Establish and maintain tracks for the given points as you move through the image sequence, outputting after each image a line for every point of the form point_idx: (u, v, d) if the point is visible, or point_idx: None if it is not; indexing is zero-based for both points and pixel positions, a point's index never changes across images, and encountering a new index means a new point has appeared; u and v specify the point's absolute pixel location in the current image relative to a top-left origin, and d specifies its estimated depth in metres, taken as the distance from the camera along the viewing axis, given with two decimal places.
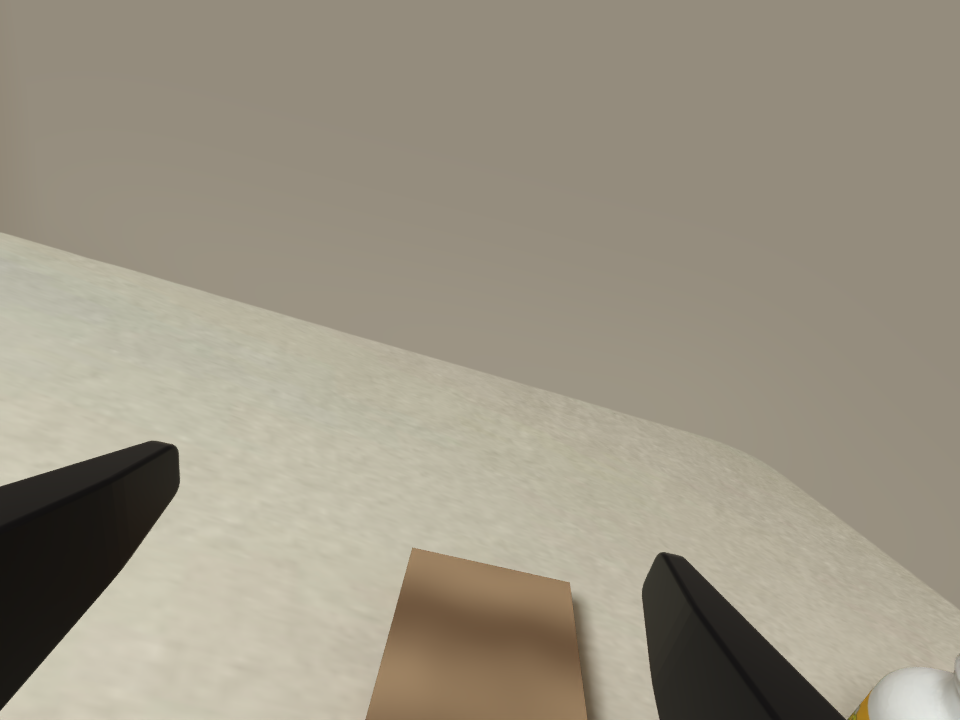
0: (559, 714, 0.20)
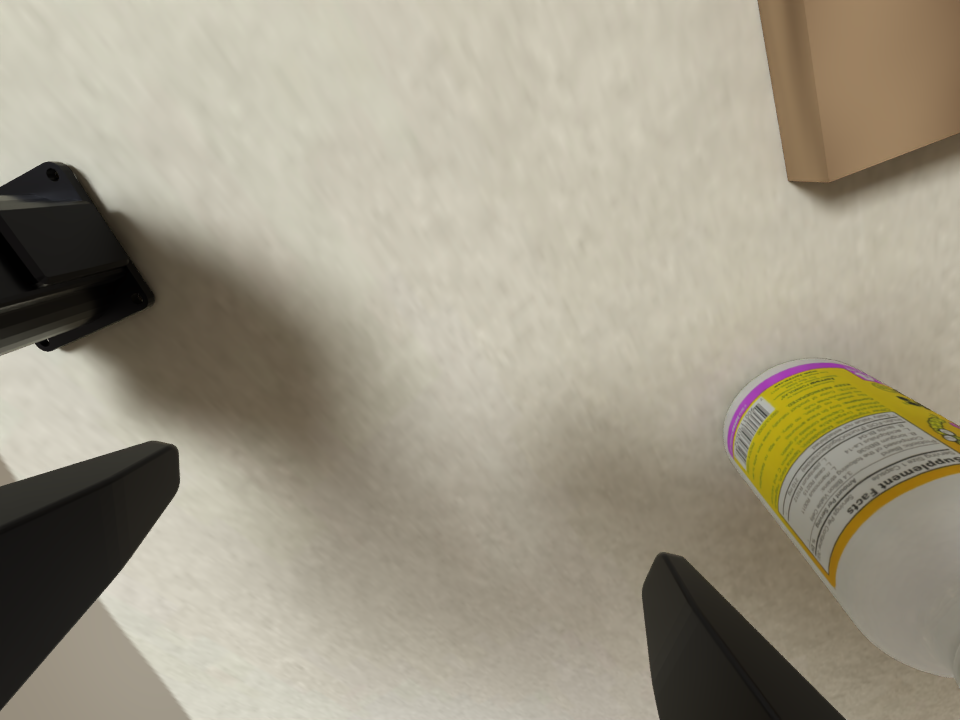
0: (887, 120, 0.15)
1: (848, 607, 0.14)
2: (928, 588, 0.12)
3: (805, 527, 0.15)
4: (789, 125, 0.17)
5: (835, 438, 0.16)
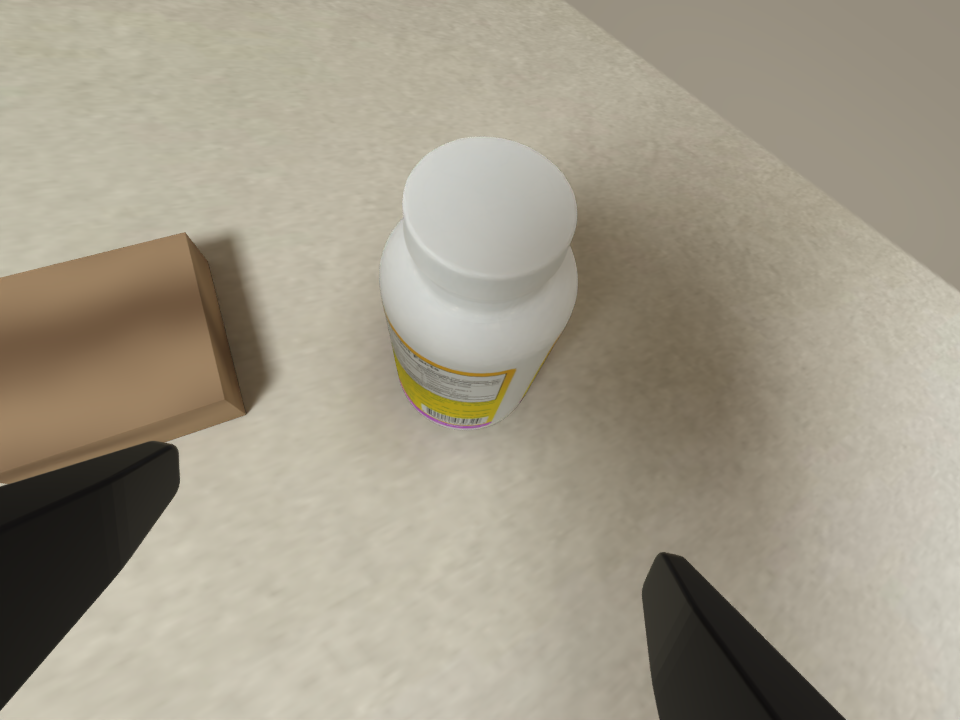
0: (186, 369, 0.20)
1: (521, 360, 0.15)
2: (459, 322, 0.14)
3: (481, 388, 0.16)
4: (194, 426, 0.21)
5: (408, 371, 0.18)
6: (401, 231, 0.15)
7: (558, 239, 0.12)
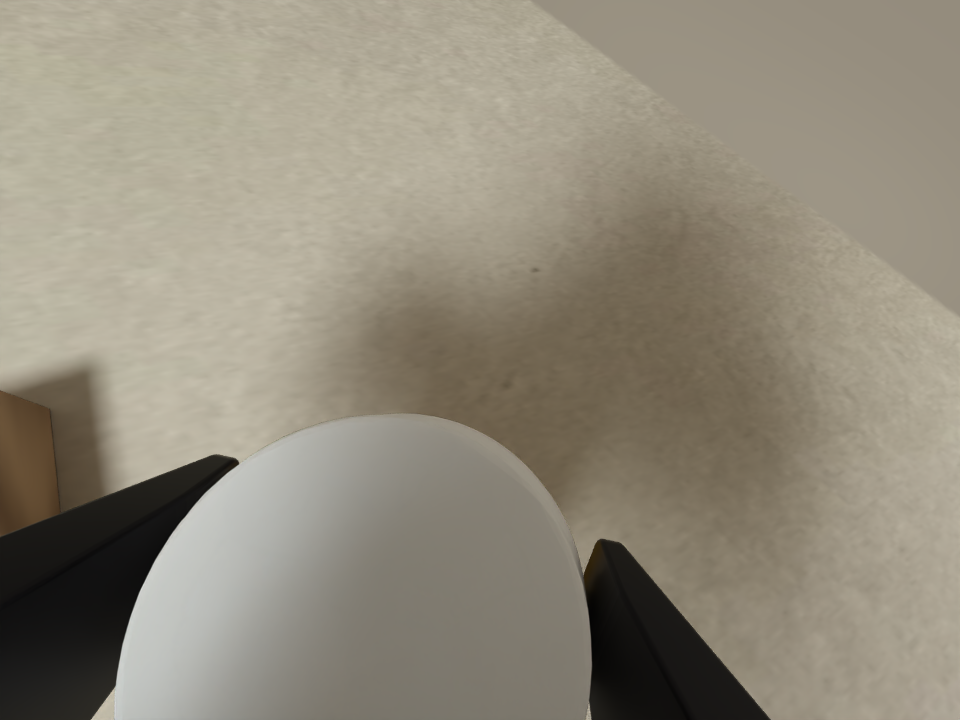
0: None
1: None
2: None
3: None
4: None
5: None
6: None
7: None
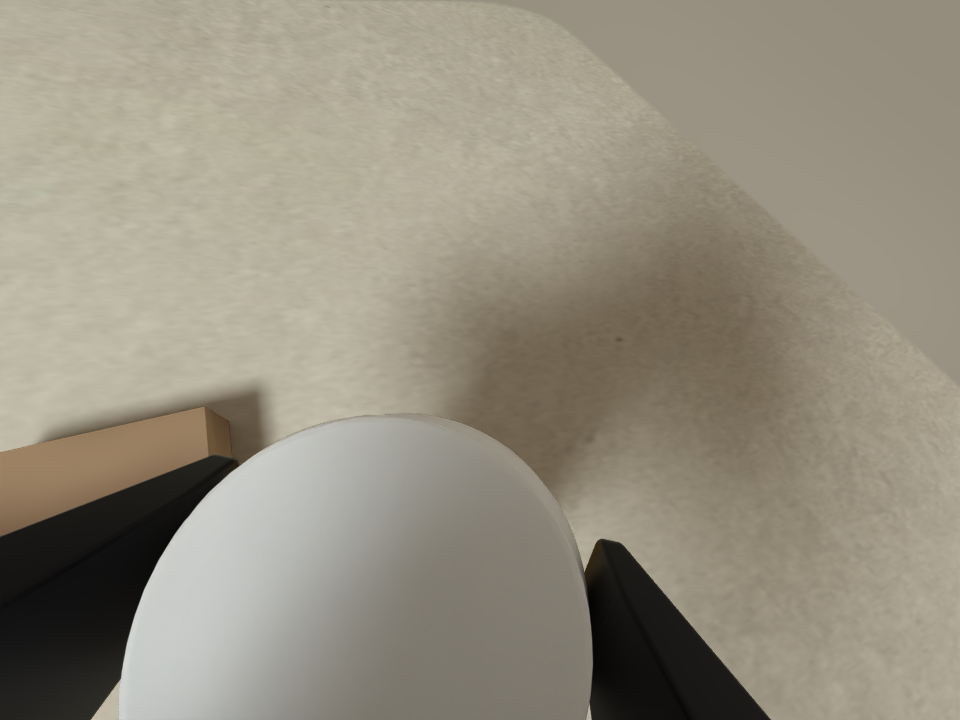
0: None
1: None
2: None
3: None
4: None
5: None
6: None
7: None
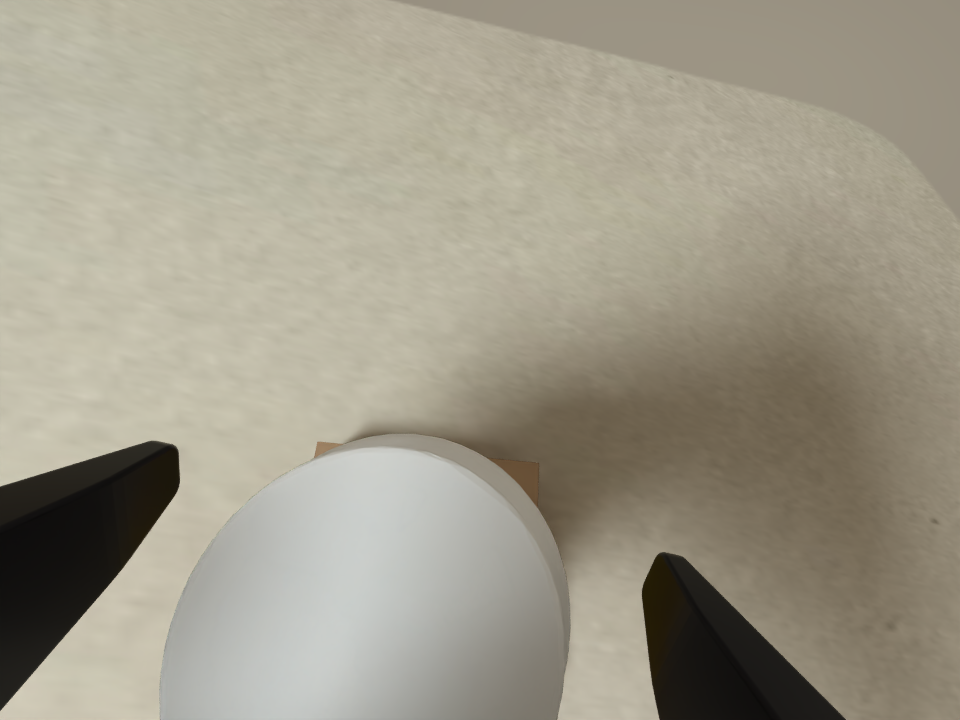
0: None
1: None
2: None
3: None
4: None
5: None
6: None
7: None
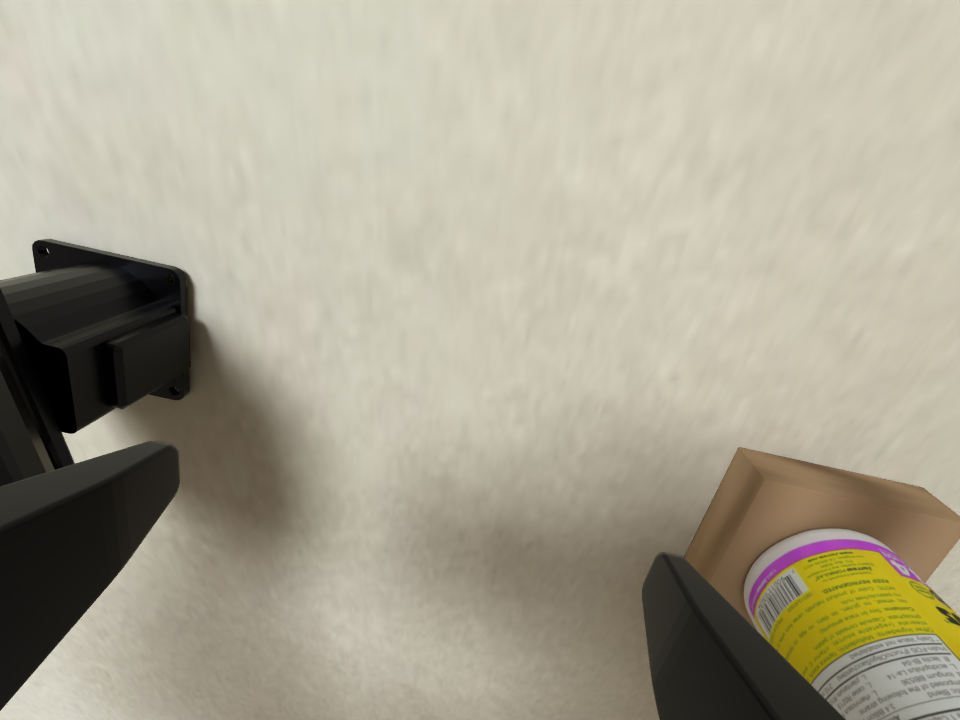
0: None
1: None
2: None
3: None
4: None
5: (876, 654, 0.15)
6: None
7: None
